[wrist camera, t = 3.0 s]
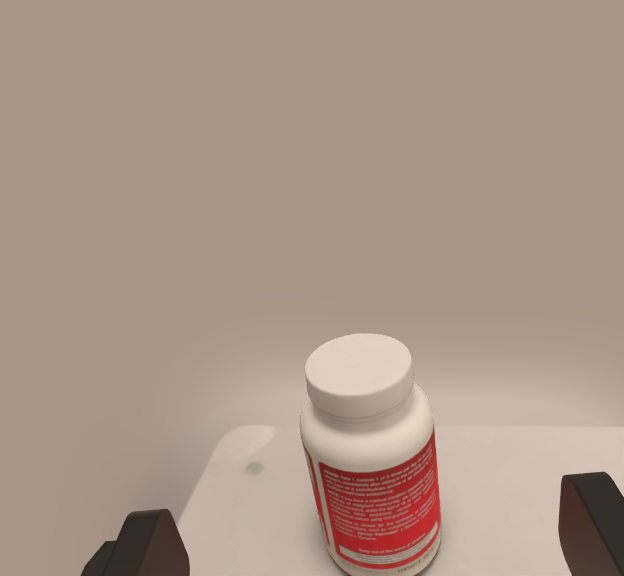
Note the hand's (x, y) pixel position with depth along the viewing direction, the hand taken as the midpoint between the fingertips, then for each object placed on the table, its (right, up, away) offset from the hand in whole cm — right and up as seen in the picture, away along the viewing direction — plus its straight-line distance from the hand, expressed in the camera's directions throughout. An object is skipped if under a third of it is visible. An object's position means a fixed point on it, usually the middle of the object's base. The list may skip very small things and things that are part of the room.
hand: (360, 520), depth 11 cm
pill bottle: (+3, -8, +17) cm, 19 cm away
